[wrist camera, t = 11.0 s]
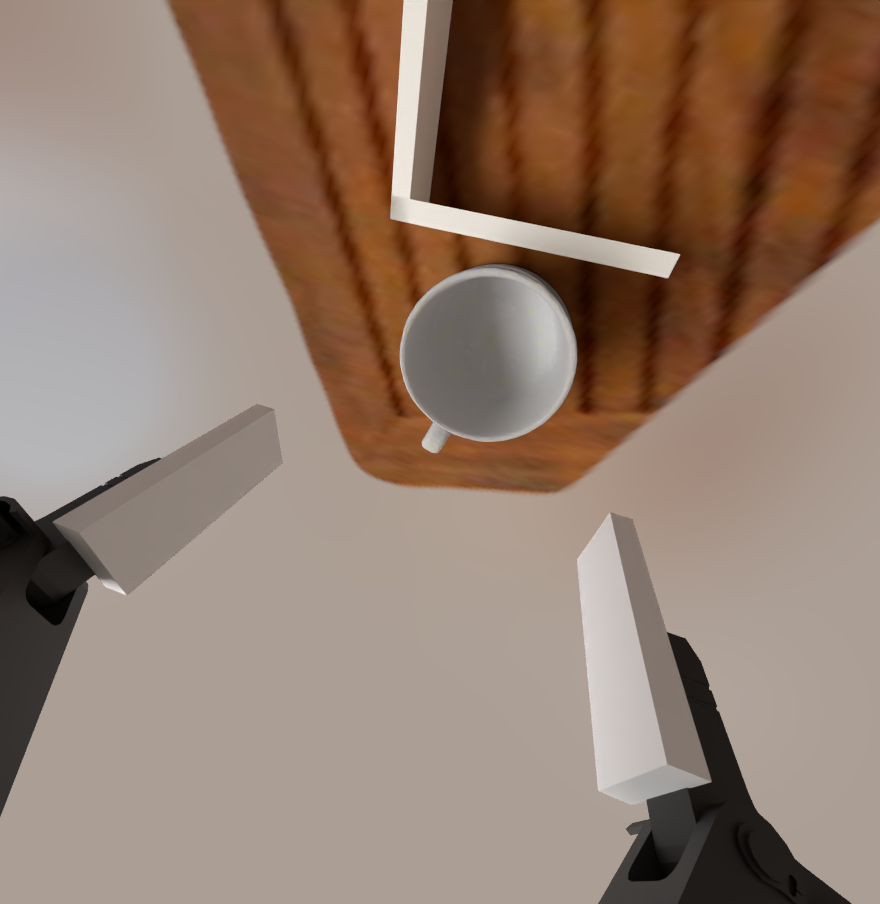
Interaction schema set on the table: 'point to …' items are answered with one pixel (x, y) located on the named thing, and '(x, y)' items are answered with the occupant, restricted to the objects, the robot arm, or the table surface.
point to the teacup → (487, 355)
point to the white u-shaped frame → (416, 154)
